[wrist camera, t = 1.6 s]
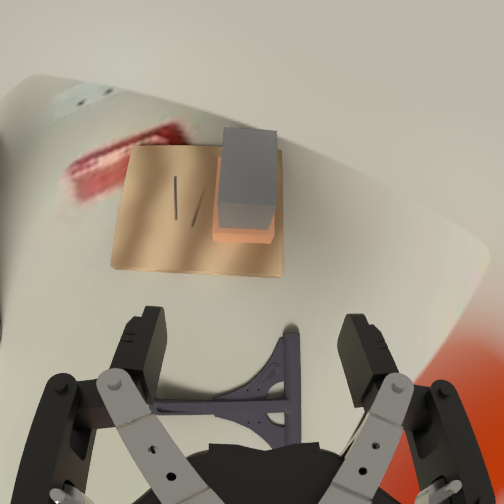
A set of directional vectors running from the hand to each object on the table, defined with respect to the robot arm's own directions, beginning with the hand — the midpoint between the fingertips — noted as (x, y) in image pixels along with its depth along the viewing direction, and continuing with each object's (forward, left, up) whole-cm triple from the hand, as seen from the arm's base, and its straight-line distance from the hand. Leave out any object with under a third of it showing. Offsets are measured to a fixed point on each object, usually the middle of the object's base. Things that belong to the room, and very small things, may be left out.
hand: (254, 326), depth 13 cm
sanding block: (0, +13, -15) cm, 20 cm away
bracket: (-1, -7, -18) cm, 19 cm away
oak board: (-5, +13, -17) cm, 22 cm away
